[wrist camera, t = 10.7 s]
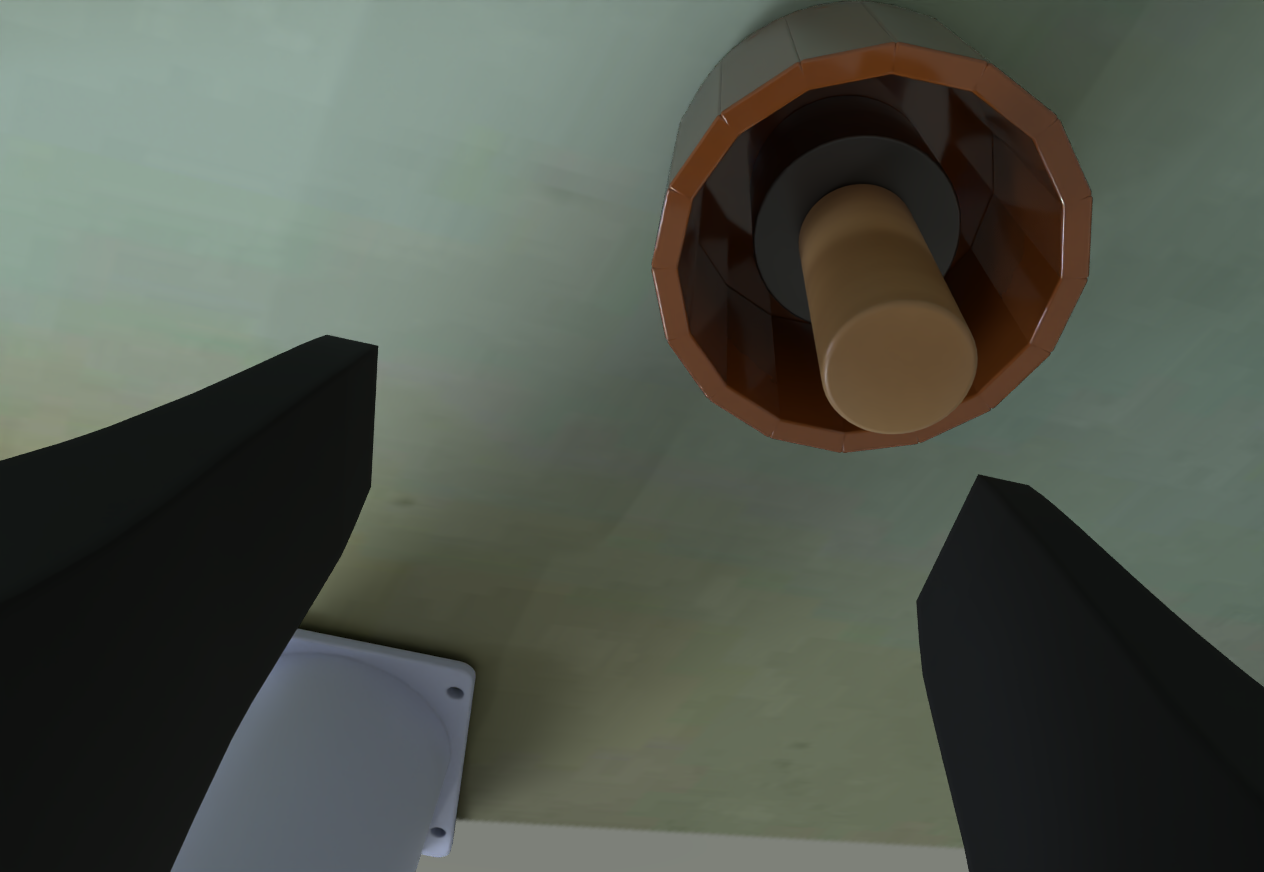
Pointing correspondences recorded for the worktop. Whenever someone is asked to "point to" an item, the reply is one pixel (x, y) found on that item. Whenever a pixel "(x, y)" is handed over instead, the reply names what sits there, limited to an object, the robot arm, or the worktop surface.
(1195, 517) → the worktop surface
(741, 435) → the worktop surface
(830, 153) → the brush
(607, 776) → the worktop surface
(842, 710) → the worktop surface
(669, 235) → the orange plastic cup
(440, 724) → the robot arm
